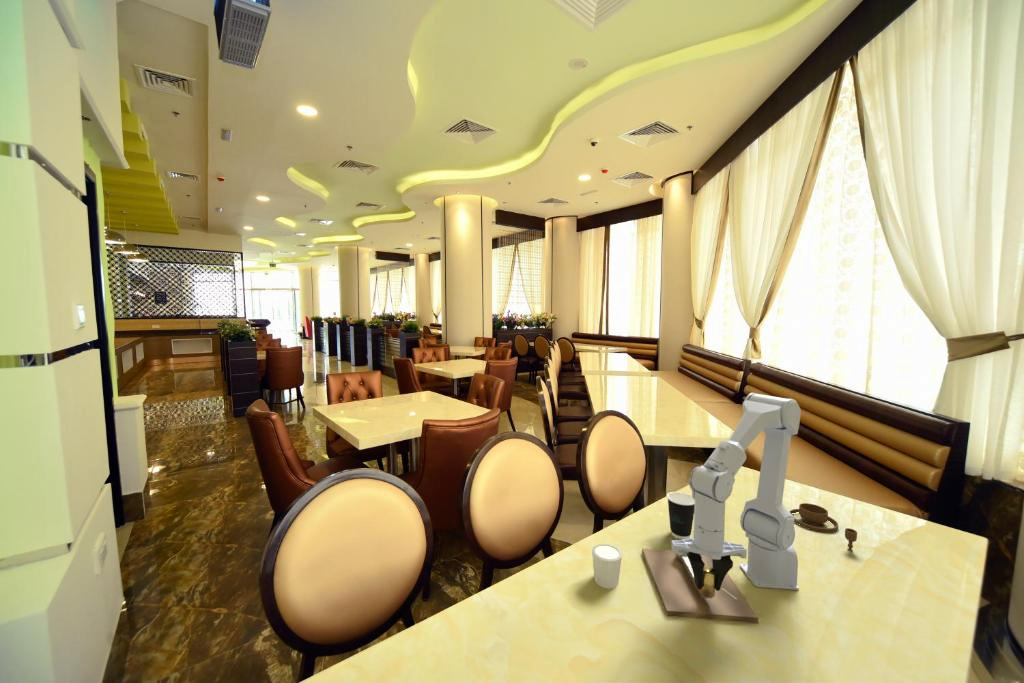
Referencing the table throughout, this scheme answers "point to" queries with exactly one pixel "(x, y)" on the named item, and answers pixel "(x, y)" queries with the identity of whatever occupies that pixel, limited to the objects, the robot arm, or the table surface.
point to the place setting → (821, 521)
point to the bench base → (694, 591)
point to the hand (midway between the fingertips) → (707, 586)
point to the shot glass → (606, 565)
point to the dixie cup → (681, 514)
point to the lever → (707, 576)
